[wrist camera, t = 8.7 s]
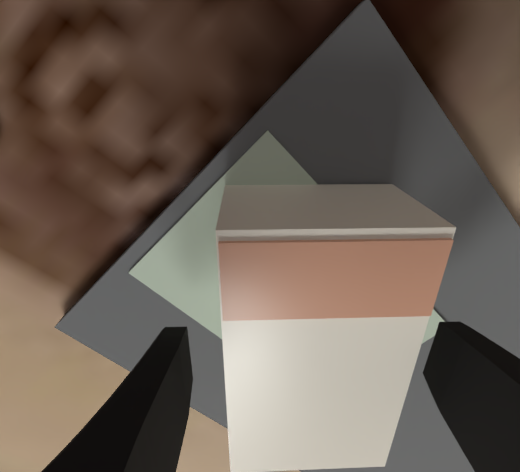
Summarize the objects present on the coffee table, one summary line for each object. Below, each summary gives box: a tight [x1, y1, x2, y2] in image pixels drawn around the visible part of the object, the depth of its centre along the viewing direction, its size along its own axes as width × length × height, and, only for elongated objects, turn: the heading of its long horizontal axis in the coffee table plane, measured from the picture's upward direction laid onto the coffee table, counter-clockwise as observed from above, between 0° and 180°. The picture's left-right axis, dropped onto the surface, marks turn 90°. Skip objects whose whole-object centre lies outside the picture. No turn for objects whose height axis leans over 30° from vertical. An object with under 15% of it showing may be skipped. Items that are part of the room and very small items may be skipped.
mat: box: [55, 0, 520, 472], centre depth 13 cm, size 22×14×1 cm, turn 44°
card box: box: [215, 184, 456, 472], centre depth 10 cm, size 8×5×3 cm, turn 0°
